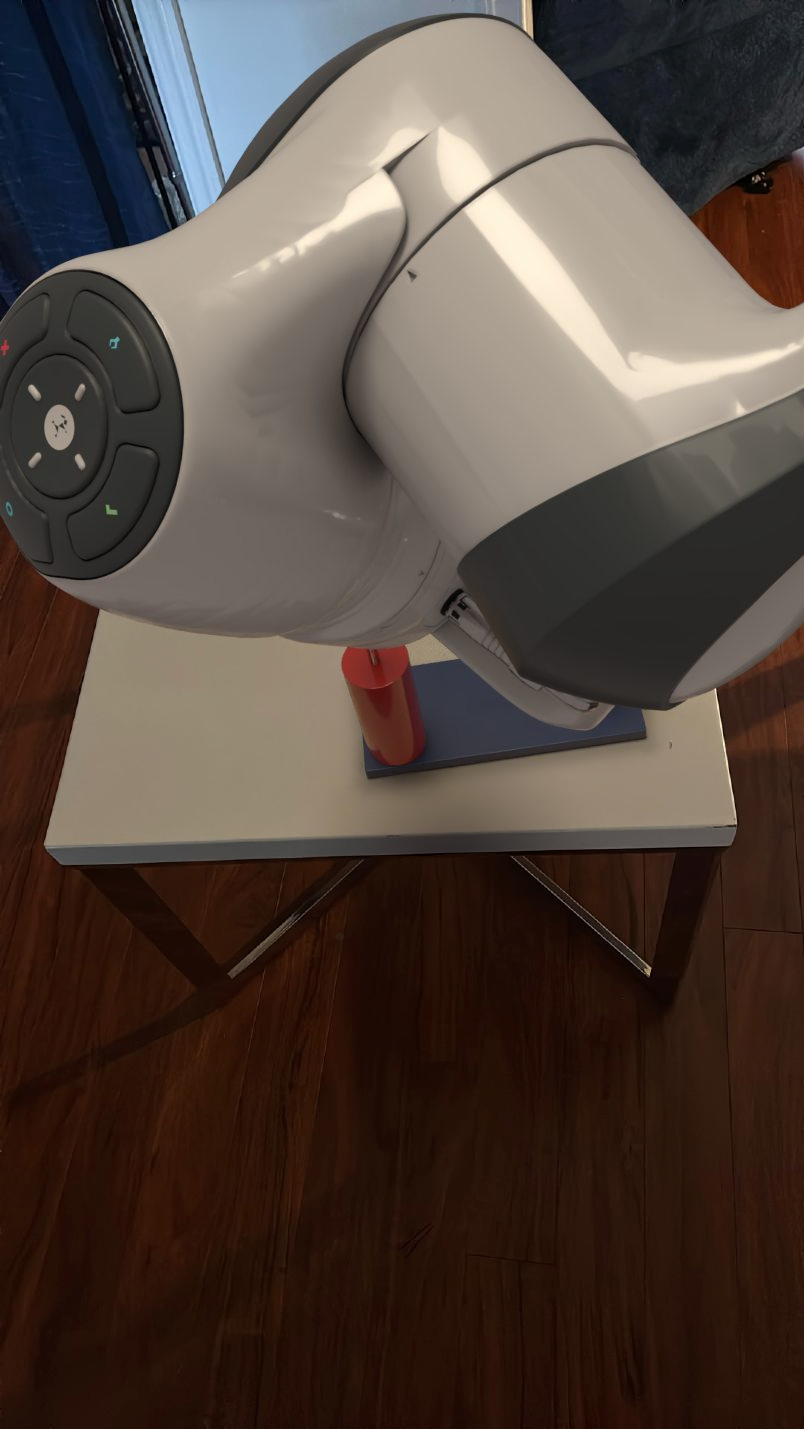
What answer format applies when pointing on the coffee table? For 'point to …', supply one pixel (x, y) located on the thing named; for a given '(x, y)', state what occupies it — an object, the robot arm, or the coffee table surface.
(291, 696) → the coffee table surface
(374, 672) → the red ball-topped plunger
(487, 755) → the navy board
